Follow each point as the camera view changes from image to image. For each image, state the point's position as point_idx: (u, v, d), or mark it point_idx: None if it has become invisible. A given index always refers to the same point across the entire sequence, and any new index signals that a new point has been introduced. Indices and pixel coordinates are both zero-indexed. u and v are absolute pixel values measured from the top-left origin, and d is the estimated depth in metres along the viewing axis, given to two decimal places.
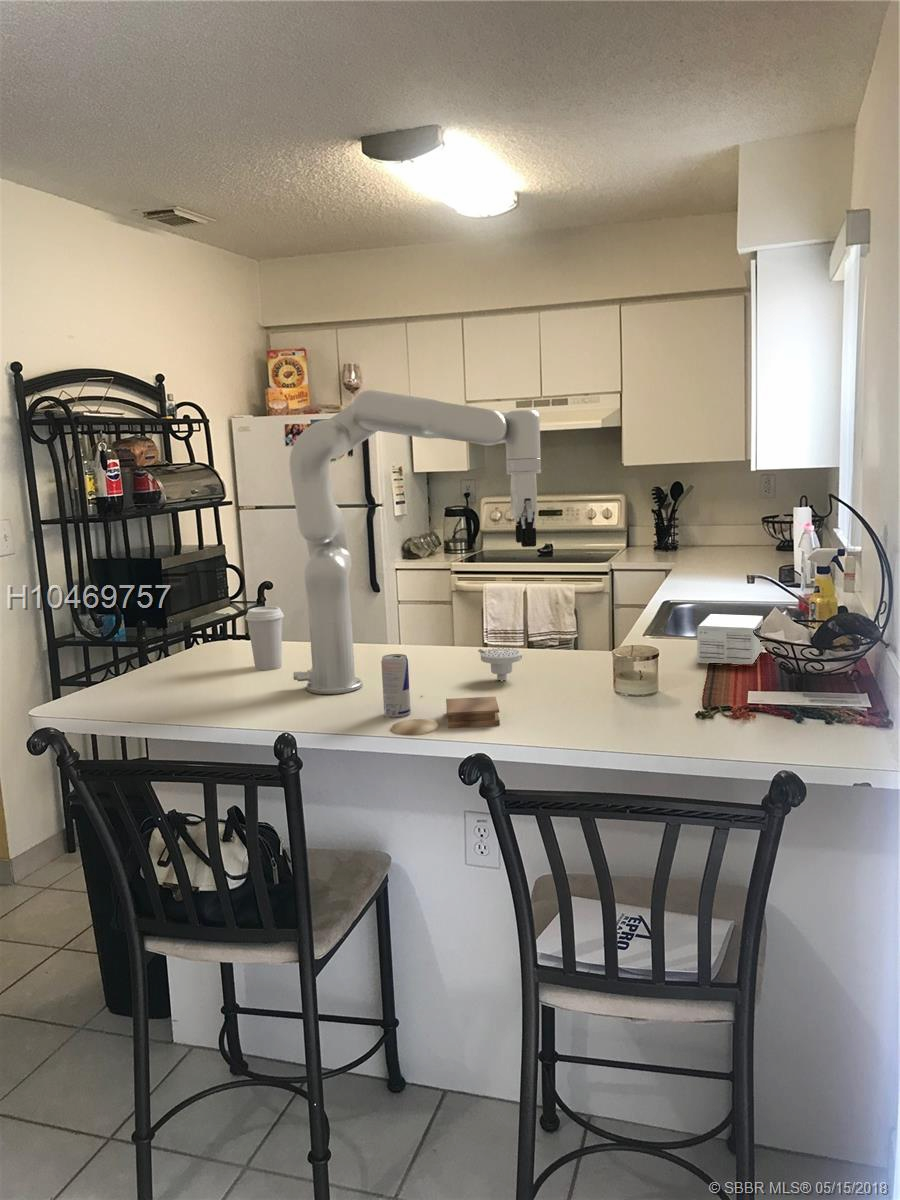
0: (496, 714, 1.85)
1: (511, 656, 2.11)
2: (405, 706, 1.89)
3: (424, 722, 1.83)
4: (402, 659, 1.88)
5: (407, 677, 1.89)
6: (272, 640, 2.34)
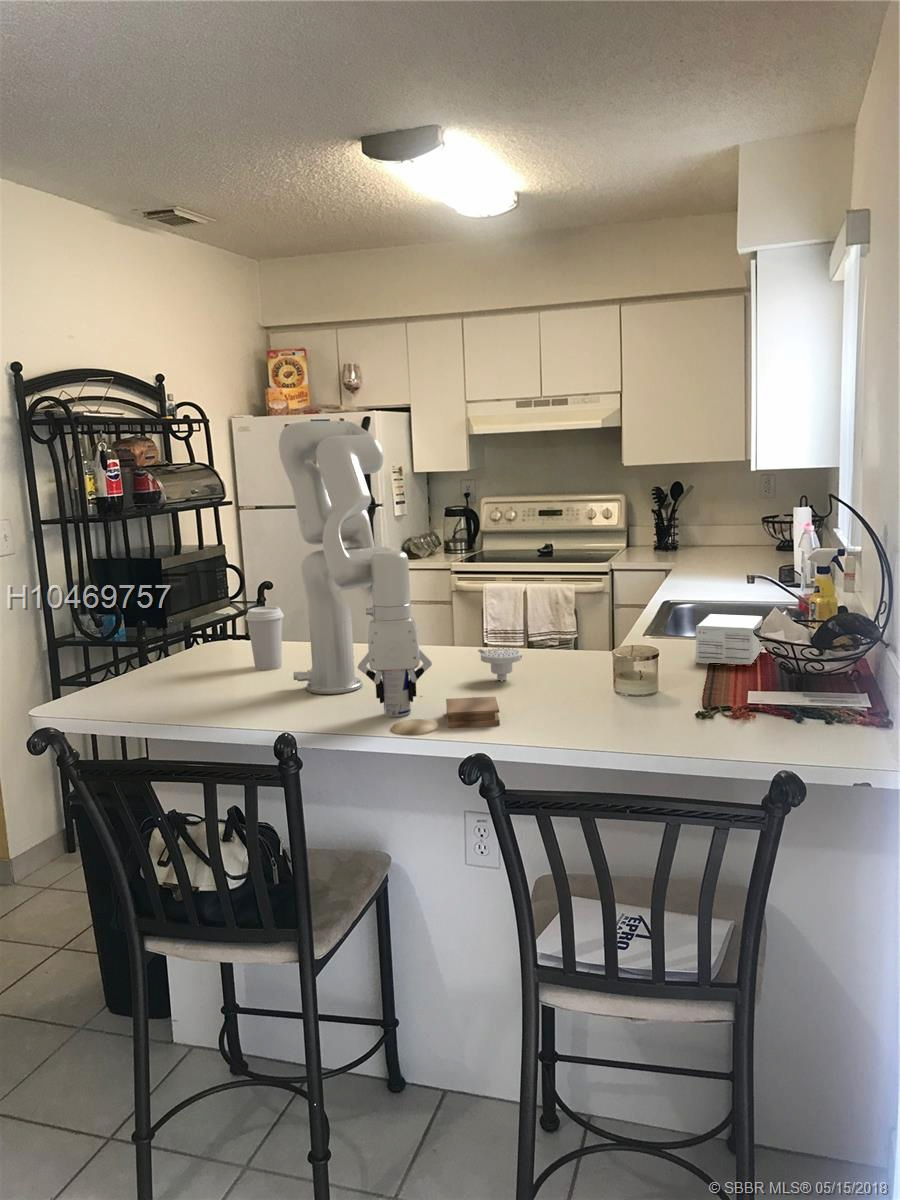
0: (496, 714, 1.85)
1: (511, 656, 2.11)
2: (405, 706, 1.89)
3: (424, 722, 1.83)
4: None
5: (407, 677, 1.89)
6: (272, 640, 2.34)
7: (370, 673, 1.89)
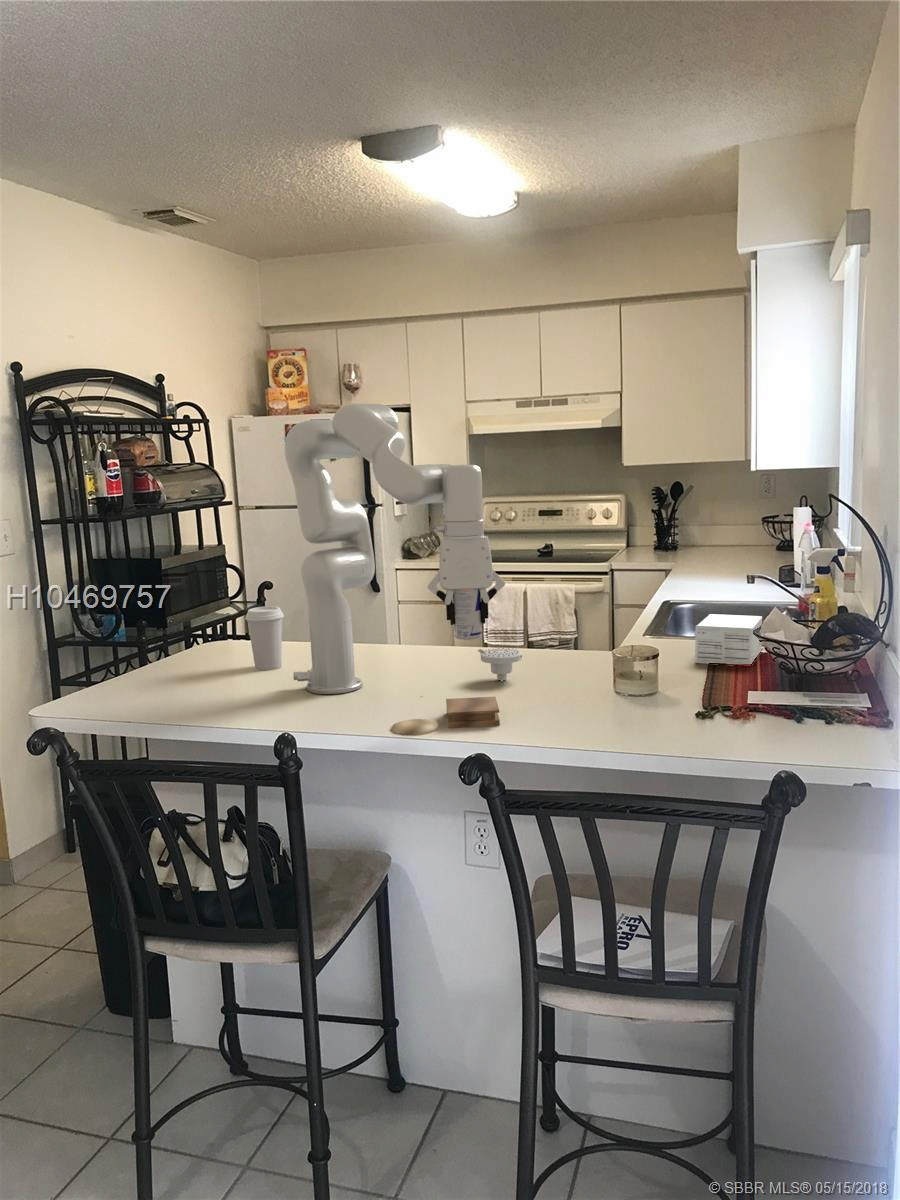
0: (496, 714, 1.85)
1: (511, 656, 2.11)
2: (477, 627, 1.81)
3: (423, 722, 1.83)
4: None
5: (479, 597, 1.81)
6: (272, 640, 2.34)
7: (441, 593, 1.81)
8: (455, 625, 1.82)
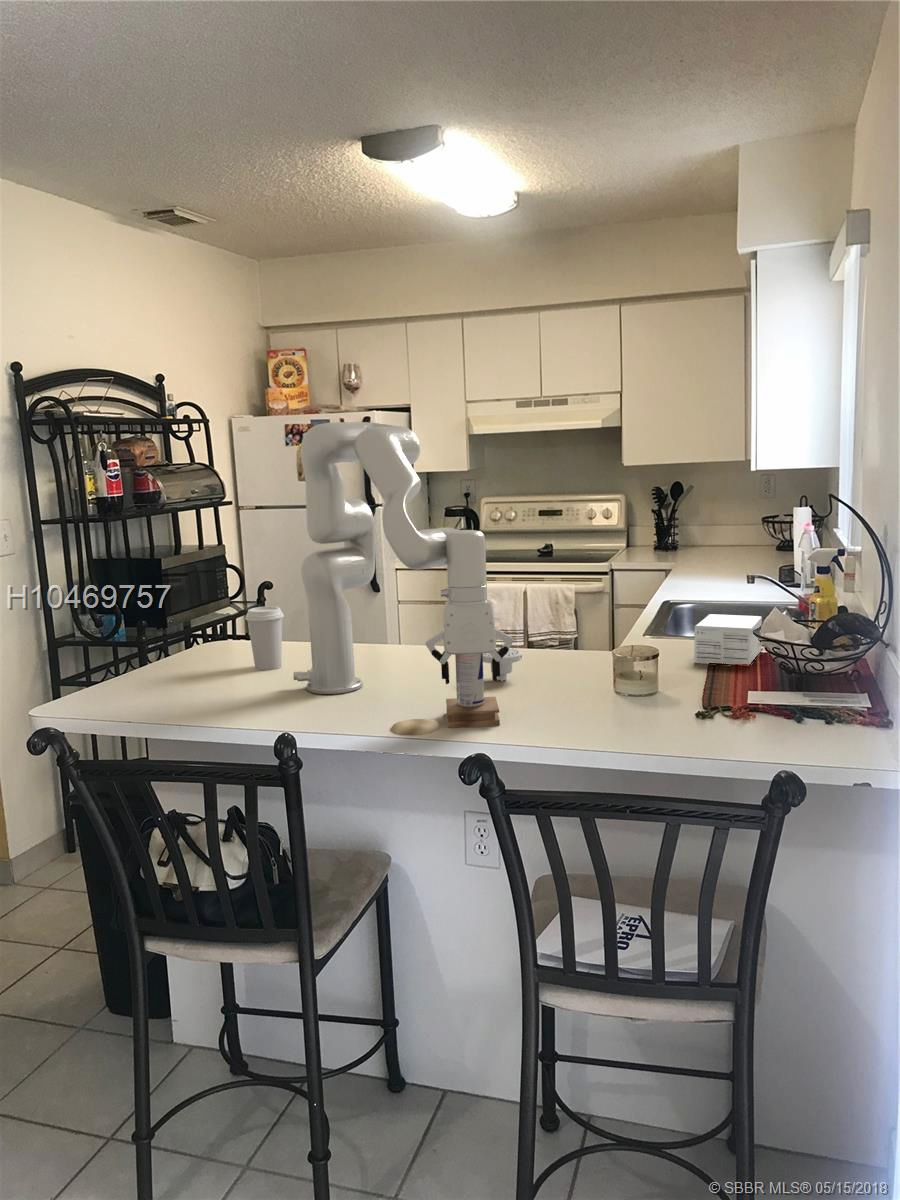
0: (496, 714, 1.85)
1: (511, 656, 2.11)
2: (479, 695, 1.83)
3: (423, 722, 1.83)
4: None
5: (482, 666, 1.83)
6: (272, 640, 2.34)
7: (436, 653, 1.83)
8: (458, 693, 1.84)
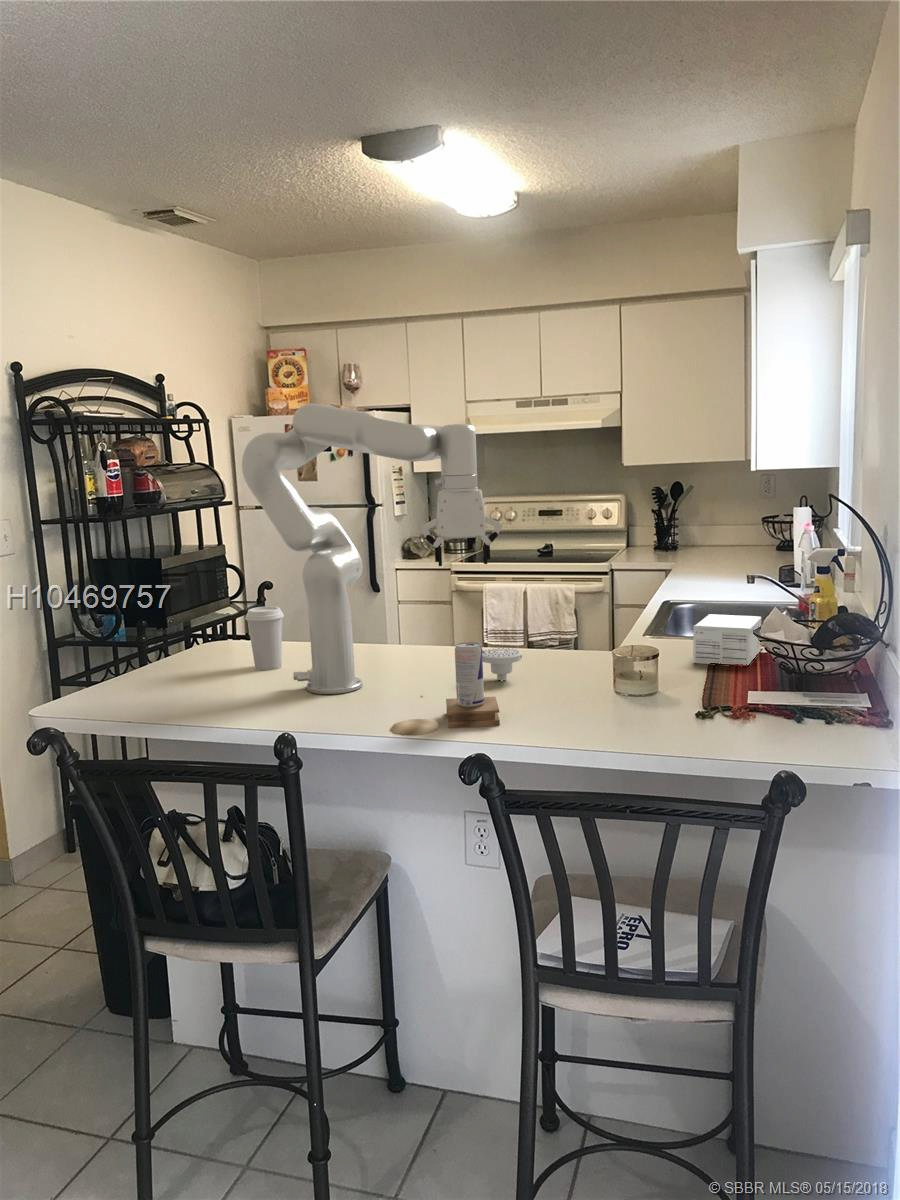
0: (496, 714, 1.85)
1: (511, 656, 2.11)
2: (479, 695, 1.83)
3: (423, 722, 1.83)
4: (477, 647, 1.82)
5: (481, 666, 1.83)
6: (272, 640, 2.34)
7: (429, 537, 1.99)
8: (458, 693, 1.84)
